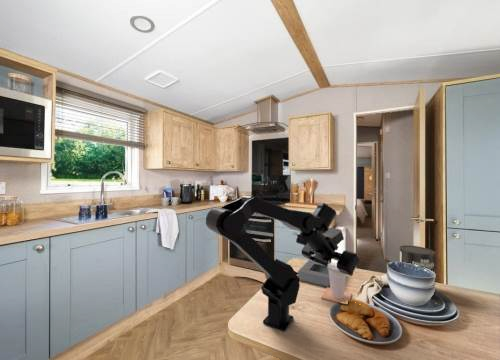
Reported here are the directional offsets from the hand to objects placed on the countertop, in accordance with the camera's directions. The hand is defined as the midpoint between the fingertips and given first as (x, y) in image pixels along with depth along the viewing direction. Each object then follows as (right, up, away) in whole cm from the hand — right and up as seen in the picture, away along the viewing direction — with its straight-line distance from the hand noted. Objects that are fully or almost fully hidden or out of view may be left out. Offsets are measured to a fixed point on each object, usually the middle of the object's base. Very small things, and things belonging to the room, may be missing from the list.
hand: (339, 269), depth 76 cm
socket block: (-2, -8, +14) cm, 16 cm away
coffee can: (+29, -9, +5) cm, 30 cm away
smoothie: (-1, -8, -1) cm, 8 cm away
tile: (-1, -9, -1) cm, 9 cm away
